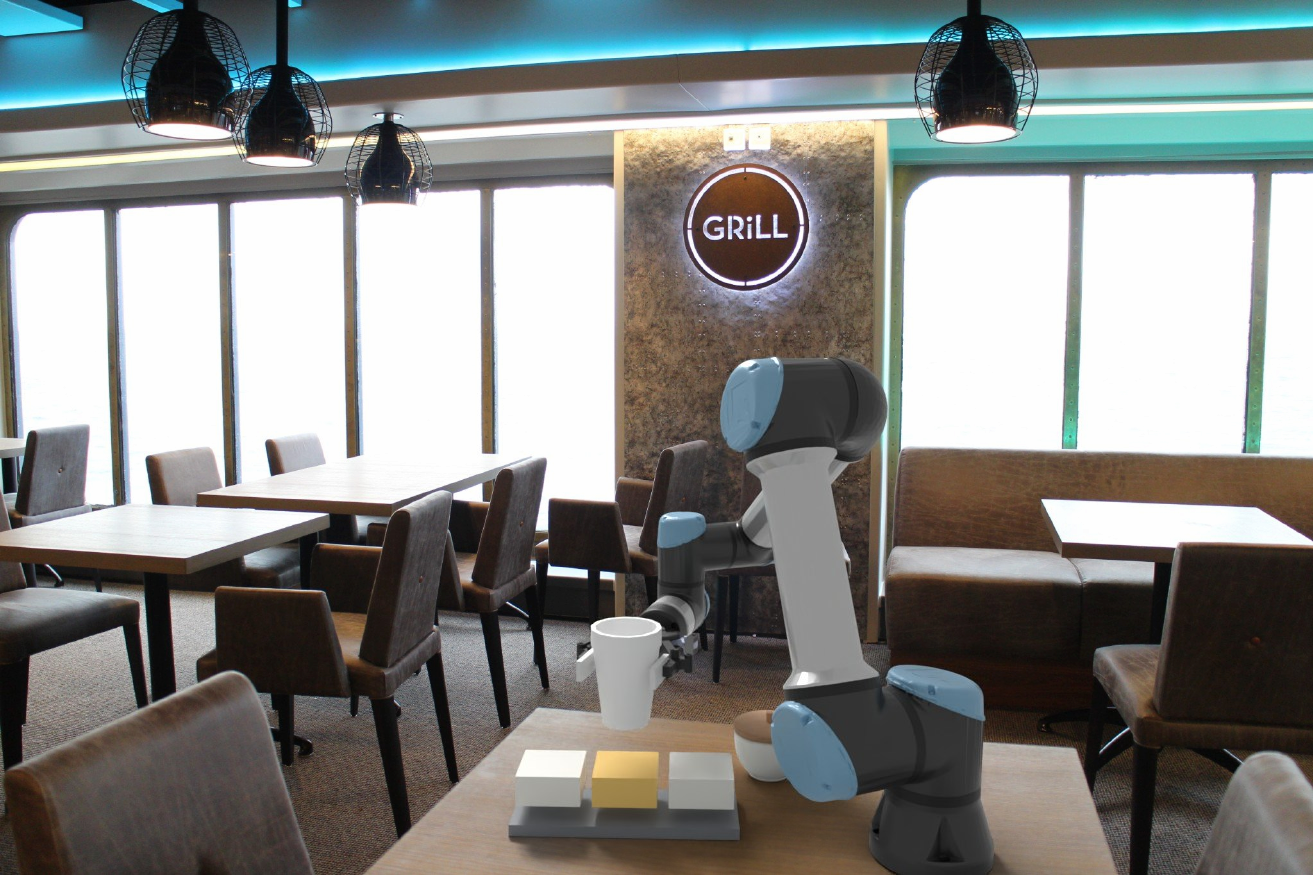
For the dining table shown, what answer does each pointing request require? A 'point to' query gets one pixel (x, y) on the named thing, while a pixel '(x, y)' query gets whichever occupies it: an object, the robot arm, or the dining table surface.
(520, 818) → the keypad base
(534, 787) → the key
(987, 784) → the dining table surface
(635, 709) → the foam cup
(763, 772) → the lidded jar
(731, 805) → the key
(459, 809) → the dining table surface
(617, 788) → the amber key
